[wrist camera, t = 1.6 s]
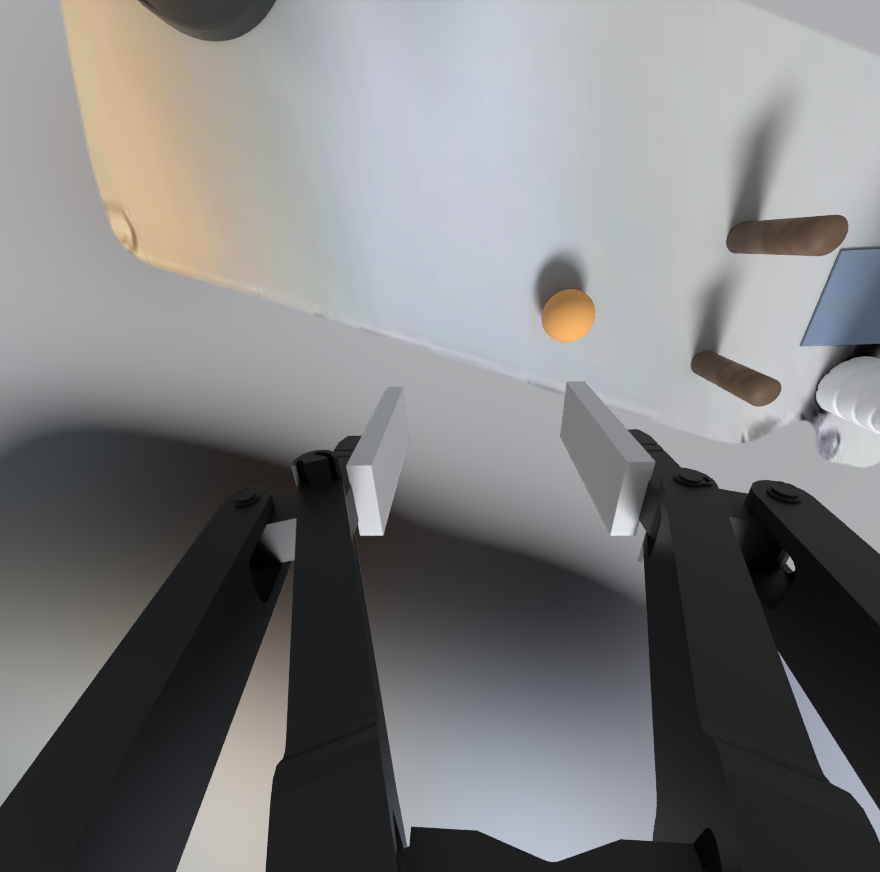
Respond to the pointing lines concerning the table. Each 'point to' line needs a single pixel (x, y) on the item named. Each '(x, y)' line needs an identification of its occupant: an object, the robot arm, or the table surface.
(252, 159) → the table surface
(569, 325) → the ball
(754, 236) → the near post
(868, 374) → the water bottle
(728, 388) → the far post
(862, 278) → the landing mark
